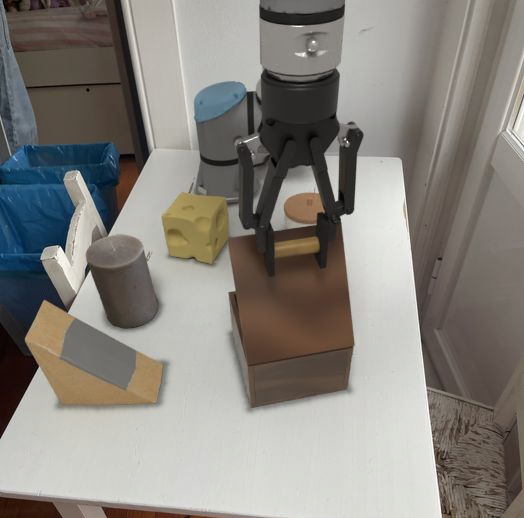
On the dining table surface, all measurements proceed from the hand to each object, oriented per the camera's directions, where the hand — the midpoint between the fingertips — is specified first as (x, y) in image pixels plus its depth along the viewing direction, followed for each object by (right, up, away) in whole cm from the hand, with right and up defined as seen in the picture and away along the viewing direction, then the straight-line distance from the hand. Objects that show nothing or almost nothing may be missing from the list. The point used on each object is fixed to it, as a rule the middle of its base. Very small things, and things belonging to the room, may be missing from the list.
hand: (295, 265), depth 62 cm
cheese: (-18, +11, +42) cm, 47 cm away
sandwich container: (-28, -17, +17) cm, 37 cm away
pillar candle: (-29, -4, +29) cm, 41 cm away
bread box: (0, -13, +19) cm, 23 cm away
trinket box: (+6, +14, +43) cm, 46 cm away
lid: (0, -3, +5) cm, 5 cm away
